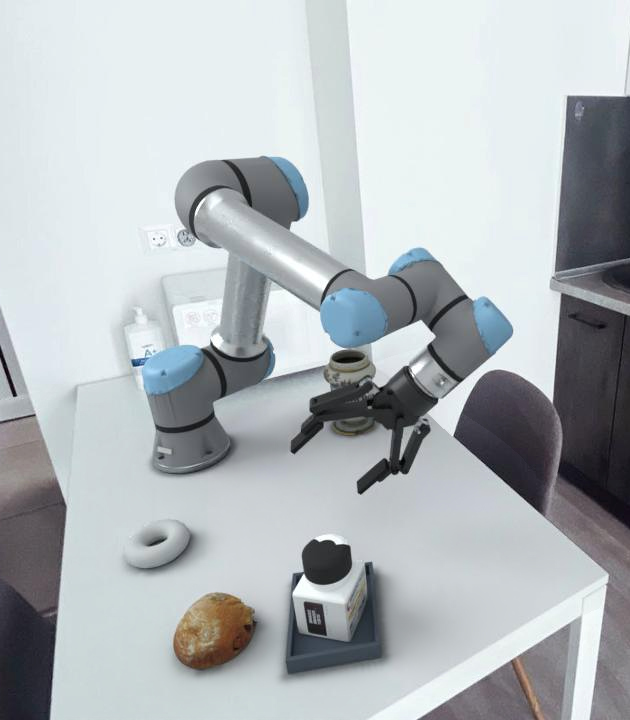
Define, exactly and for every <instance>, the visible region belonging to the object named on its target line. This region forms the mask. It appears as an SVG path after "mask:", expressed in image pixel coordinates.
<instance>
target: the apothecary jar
mask: <svg viewBox="0 0 630 720" xmlns="http://www.w3.org/2000/svg"><path fill="white" fill-rule="evenodd" d="M376 374H377V367H376V365H375V364H374V363H373V361H371V360H370V359H369V356H368V354H367V352H365V351H364V350H362V349H359V348H352V349H347V348H344V349H340V350H337V351H335V352H333V353H332V354H331V355H330V357H329V362H328V364H326V366H325V367H324V370H323V378H324V380H325V381H326V382H327V383H328V384H329V388H330V391H333V390H336V389H339V388H341V387H344V386H347V385H350V384H353V383H356V382H357V381H359V380H360V379H361V378H363V377H364V376H366V375H370V376H371V377H372V380H373V379H374V378H375V376H376ZM373 395H374V394H369V396H366V395H364V396H362V397H360V398H358V399H355V400H352V401H349V402H356V401H361V400H362V399H364V398H371V397H373ZM349 402H346V403H349ZM368 409H371V406H368ZM375 425H376V421H374V420H373V417H370V418H364V417H356V418H349V419H342V420H335V421H333V424H332V428H333V430H334V431H335V432H336V433H338V434H340V435H343V436H357V435H360V434H366V433H368V432H371V431H372V430H373V429H374V428H375Z"/></svg>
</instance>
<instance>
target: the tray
mask: <svg viewBox="0 0 630 720" xmlns="http://www.w3.org/2000/svg"><path fill="white" fill-rule="evenodd" d="M364 563H365V572H366V583H367V594H368V601H367V603H366V605H365V608H364V610H363V613H362V615H361V617H360V620H359V622H358V624H357V627H356V629H355V632H354V634H353V636H352V639H351V641H350V642H344V641H339V640H333V639H328V638H322V637H316V636H311V635H305V634H300V633H299V630H298V625H297V619H296V613H295V607H294V601H293V595H292V594H293V592H294V590H295V588H296V586H297V585H298V583H299V581H300V580H301V578H302V576H303V574H304V571H300V572H293V573H292V576H291V591H290V602H289V615H288V626H287V635H286V636H287V637H286V649H285V660H284V661H285V666H286V673H287V675H293V674H297V673H303V672H308V671H313V670H319V669H326V668H331V667H335V666H341V665H347V664H352V663H353V664H354V663H358V662H363V661H370V660H374V659H381V658H382V651H381V649H382V648H381V638H380V629H379V628H380V627H379V619H378V618H379V617H378V608H377V596H376V587H375V586H376V584H375V575H374V566H373V561H367V562H366V561H365V562H364Z"/></svg>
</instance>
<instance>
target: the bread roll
mask: <svg viewBox="0 0 630 720" xmlns="http://www.w3.org/2000/svg"><path fill="white" fill-rule="evenodd" d="M255 612H256V611H255V608H253V607H252V606H248V605H247V604H245V602H244V601H242V599H241V598H240V597H236V596H235V595H233V594H229V593H226V592H220V591H219V592H218V591H216V592H210V593H207V594H204V595H203V596H201V597H200V598H198V599H197V600H196V601H194V602H193V603H192V604H191V605H190V606H189V607H188V609H187V610H186V612H185V613H184V614H183V617H182V619H180V620H179V622H178V624H177V626H176V628H175V632H174V635H173V640H172V641H173V642H172V644H173V652H174V654H175V656H176V658H177V659H178V660H179V662H180V663H182V664H183V665H185V666H186V667H189V668H192V669H196V670H206V669H210V668H212V667H216V666H219V665H223V664H225V663H227V662H228V661H230V660H232V659H233V658H235V657H236V656H237V655H239V654H240V653H241V652H242V651H243V650H244V649H245V648H246V646H248V644H249V642H250V640H251V638H252V637H253V635H254V634H253V633H254V629H255V626H256V625H257V623H258V621H257V620H254V614H255Z"/></svg>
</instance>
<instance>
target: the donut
mask: <svg viewBox="0 0 630 720" xmlns="http://www.w3.org/2000/svg"><path fill="white" fill-rule="evenodd" d="M190 536H191V535H190V530H189V528H188V526H187V525H186V524H185V523H184V522H182V521H180V520H178V519H171V518H166V519H157V520H155V521H151V522H149V523H146V524H144V525H142V526H140V527H138V528H137V529H136V530H135V531H134V532H133V533H132V534H131V535H130V536H129V537H128V538H127V540H126V542H125V543H124V546H123V557H124V559H125V560H126V562H127V564H129V565H131V566H133V567H135V568H139V569H152V568H157V567H160V566H164V565H166V564H169V563H170V562H172V561H173V560H175V559H176V558H177V557H179V556H180V555H181V554H182V553H183V552H184V551H185V550H186V548H187V547H188V544H189V542H190V540H191V538H190ZM162 540H164V541H163V542H161V543H158V544H155V545H152V544H153V543H155V542H159V541H162Z"/></svg>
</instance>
